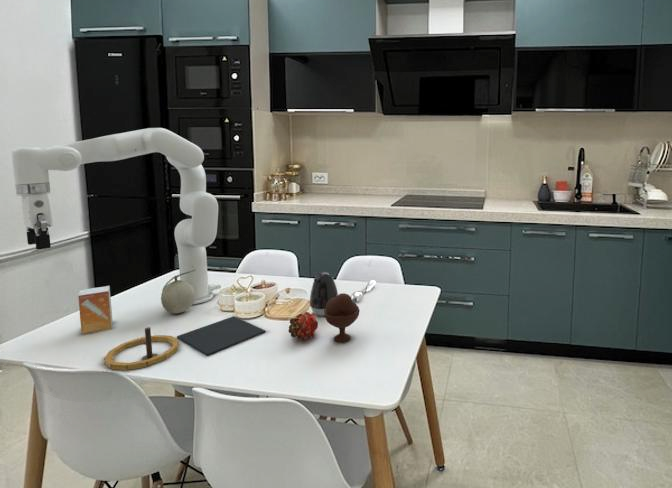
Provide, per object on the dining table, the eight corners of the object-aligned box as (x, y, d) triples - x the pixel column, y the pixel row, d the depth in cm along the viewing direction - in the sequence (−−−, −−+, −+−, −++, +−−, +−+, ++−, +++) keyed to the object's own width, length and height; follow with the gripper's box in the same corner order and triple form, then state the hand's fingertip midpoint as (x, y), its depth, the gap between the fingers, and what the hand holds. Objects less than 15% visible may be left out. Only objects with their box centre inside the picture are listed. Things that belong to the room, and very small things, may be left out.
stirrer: (368, 275, 184) (378, 276, 183) (368, 283, 185) (378, 284, 184) (348, 294, 165) (359, 295, 164) (348, 303, 166) (360, 304, 165)
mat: (233, 317, 152) (233, 316, 151) (265, 332, 140) (265, 330, 140) (177, 337, 136) (176, 336, 136) (207, 356, 125) (207, 354, 125)
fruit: (153, 316, 153) (149, 275, 151) (181, 304, 163) (178, 266, 162) (175, 320, 149) (172, 278, 147) (202, 308, 160) (199, 269, 158)
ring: (162, 334, 139) (162, 330, 139) (189, 350, 128) (188, 346, 128) (96, 356, 125) (95, 352, 125) (120, 377, 114) (119, 372, 114)
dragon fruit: (293, 351, 131) (308, 339, 142) (316, 336, 130) (328, 324, 142) (278, 328, 131) (294, 317, 143) (300, 312, 131) (314, 302, 143)
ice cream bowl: (365, 333, 139) (364, 288, 137) (349, 350, 128) (347, 301, 126) (336, 329, 142) (335, 285, 140) (317, 344, 132) (316, 297, 130)
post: (154, 353, 127) (152, 324, 126) (160, 357, 124) (158, 327, 123) (139, 359, 124) (136, 328, 123) (145, 363, 121) (142, 332, 120)
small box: (81, 334, 139) (77, 295, 137) (83, 327, 144) (79, 289, 143) (112, 328, 143) (108, 290, 142) (113, 321, 148) (109, 285, 147)
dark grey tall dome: (303, 316, 152) (302, 274, 150) (321, 305, 162) (319, 266, 160) (328, 321, 148) (327, 278, 147) (344, 309, 158) (343, 269, 156)
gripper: (57, 190, 125) (63, 248, 127) (41, 186, 136) (47, 239, 138) (23, 192, 119) (29, 253, 121) (9, 188, 130) (15, 244, 132)
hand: (39, 246), depth 130 cm, fingers open, 9 cm apart
